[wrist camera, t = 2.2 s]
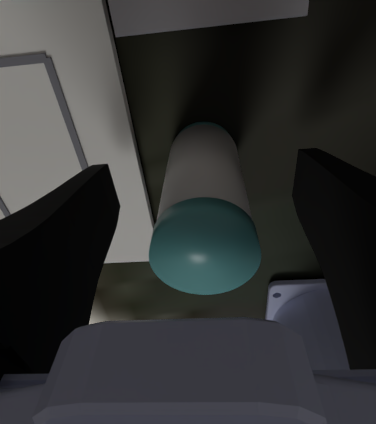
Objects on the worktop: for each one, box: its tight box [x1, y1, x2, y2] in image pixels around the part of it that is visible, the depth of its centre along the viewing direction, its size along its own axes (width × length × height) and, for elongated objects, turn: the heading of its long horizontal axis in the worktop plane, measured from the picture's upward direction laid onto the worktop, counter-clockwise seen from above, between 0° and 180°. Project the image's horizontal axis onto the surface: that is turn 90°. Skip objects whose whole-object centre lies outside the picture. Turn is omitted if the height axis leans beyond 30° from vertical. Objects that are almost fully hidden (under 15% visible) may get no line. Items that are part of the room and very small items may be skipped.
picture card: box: [0, 0, 154, 263], centre depth 13 cm, size 16×10×1 cm, turn 6°
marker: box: [149, 121, 261, 295], centre depth 11 cm, size 3×3×7 cm
